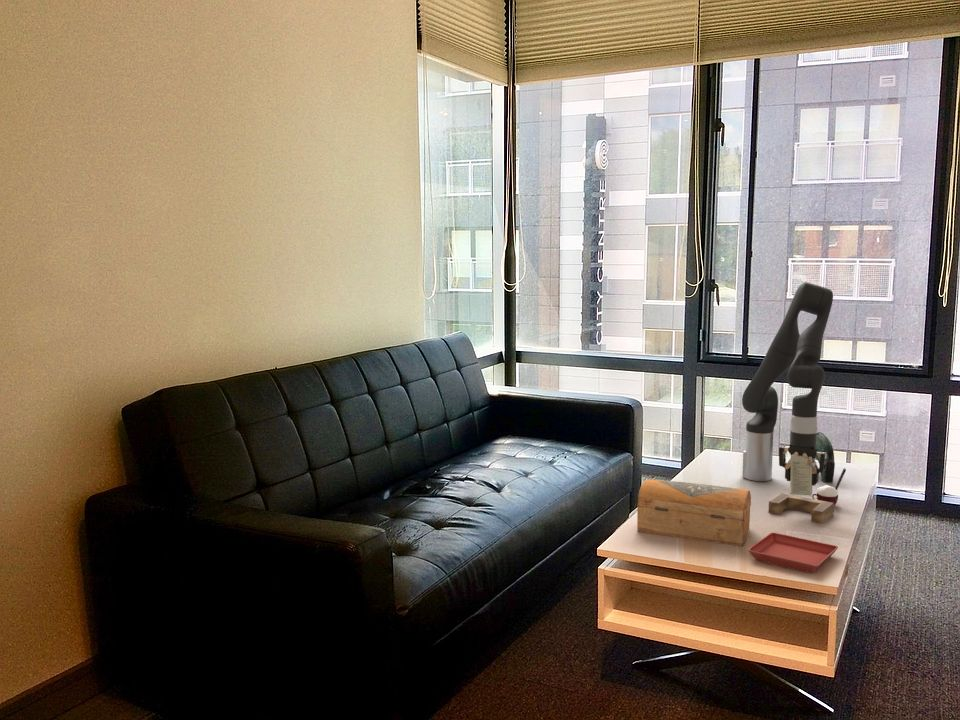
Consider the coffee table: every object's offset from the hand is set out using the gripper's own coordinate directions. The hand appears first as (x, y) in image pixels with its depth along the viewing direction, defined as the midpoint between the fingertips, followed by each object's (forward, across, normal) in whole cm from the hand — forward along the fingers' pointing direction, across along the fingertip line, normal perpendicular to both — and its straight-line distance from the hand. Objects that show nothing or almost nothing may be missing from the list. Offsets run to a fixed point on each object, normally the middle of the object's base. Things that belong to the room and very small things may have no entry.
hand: (801, 482), depth 250 cm
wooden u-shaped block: (+10, 0, +2) cm, 10 cm away
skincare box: (+4, 0, 0) cm, 4 cm away
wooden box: (+10, -19, -33) cm, 40 cm away
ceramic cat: (+10, -10, +47) cm, 49 cm away
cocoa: (+10, +4, +15) cm, 18 cm away
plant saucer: (+11, +10, -37) cm, 40 cm away
